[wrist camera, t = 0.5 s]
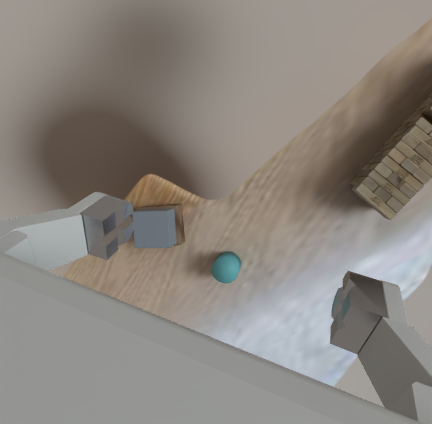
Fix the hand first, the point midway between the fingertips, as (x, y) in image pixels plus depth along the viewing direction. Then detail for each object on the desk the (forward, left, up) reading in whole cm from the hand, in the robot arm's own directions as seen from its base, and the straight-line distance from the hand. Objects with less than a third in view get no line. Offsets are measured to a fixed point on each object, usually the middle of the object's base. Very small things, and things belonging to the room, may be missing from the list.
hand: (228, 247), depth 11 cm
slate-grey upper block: (-5, +22, -46) cm, 51 cm away
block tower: (+7, -27, -50) cm, 57 cm away
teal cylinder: (-14, +9, -49) cm, 52 cm away
